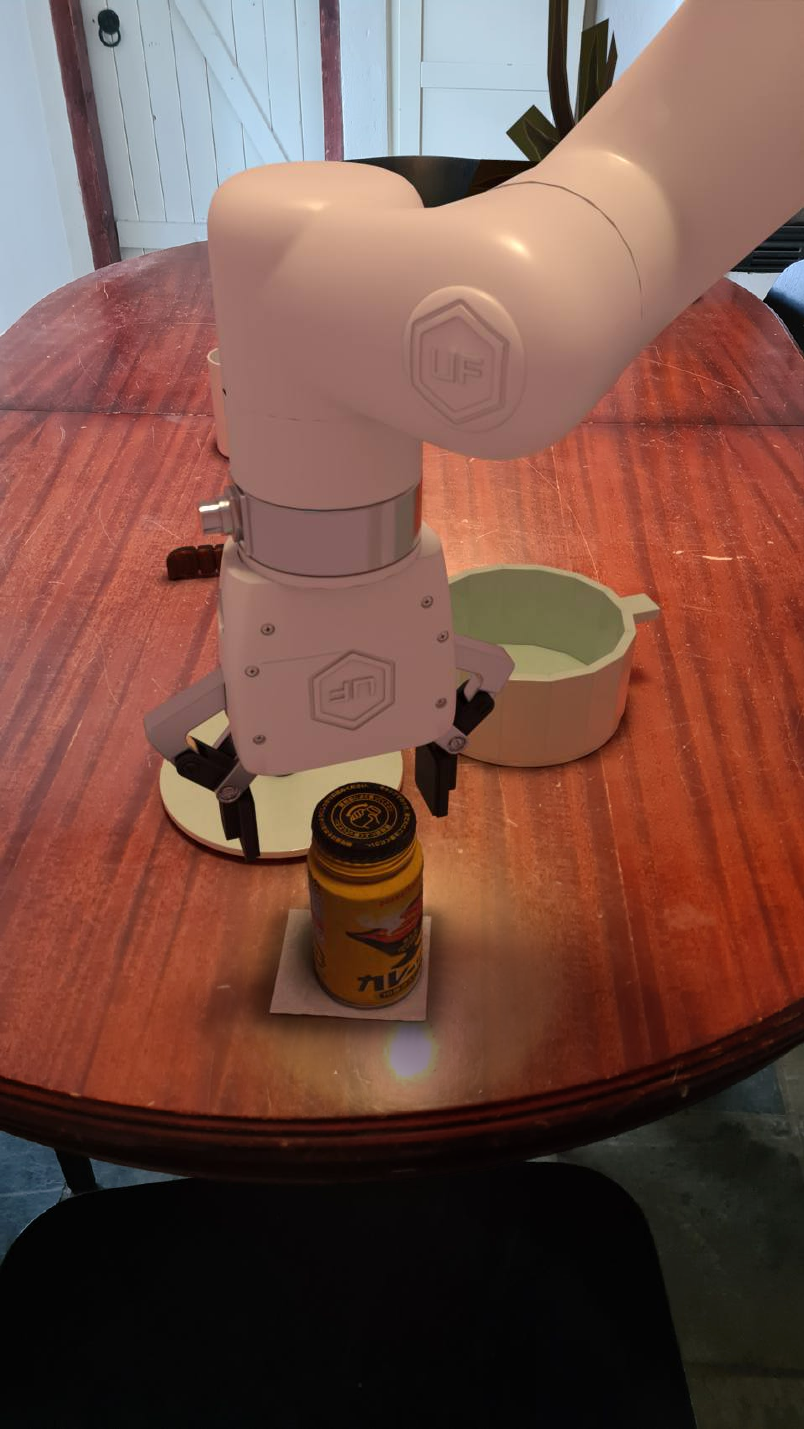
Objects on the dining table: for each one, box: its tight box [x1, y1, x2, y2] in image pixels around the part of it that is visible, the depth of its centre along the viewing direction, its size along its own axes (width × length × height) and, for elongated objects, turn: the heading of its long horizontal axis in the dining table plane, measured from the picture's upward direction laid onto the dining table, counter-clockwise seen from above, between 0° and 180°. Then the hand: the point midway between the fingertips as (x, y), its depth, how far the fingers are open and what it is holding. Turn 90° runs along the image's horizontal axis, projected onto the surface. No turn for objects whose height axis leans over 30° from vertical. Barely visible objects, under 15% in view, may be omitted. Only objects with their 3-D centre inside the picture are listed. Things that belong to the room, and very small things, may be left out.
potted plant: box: [463, 0, 619, 199], centre depth 152 cm, size 45×39×43 cm
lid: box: [158, 710, 404, 859], centre depth 70 cm, size 17×17×6 cm
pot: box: [448, 563, 661, 768], centre depth 76 cm, size 16×21×8 cm
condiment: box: [269, 782, 432, 1022], centre depth 55 cm, size 7×8×12 cm
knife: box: [165, 543, 225, 581], centre depth 94 cm, size 17×1×3 cm, turn 99°
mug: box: [206, 347, 229, 458], centre depth 116 cm, size 12×8×10 cm, turn 178°
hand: (341, 820), depth 52 cm, fingers open, 9 cm apart
